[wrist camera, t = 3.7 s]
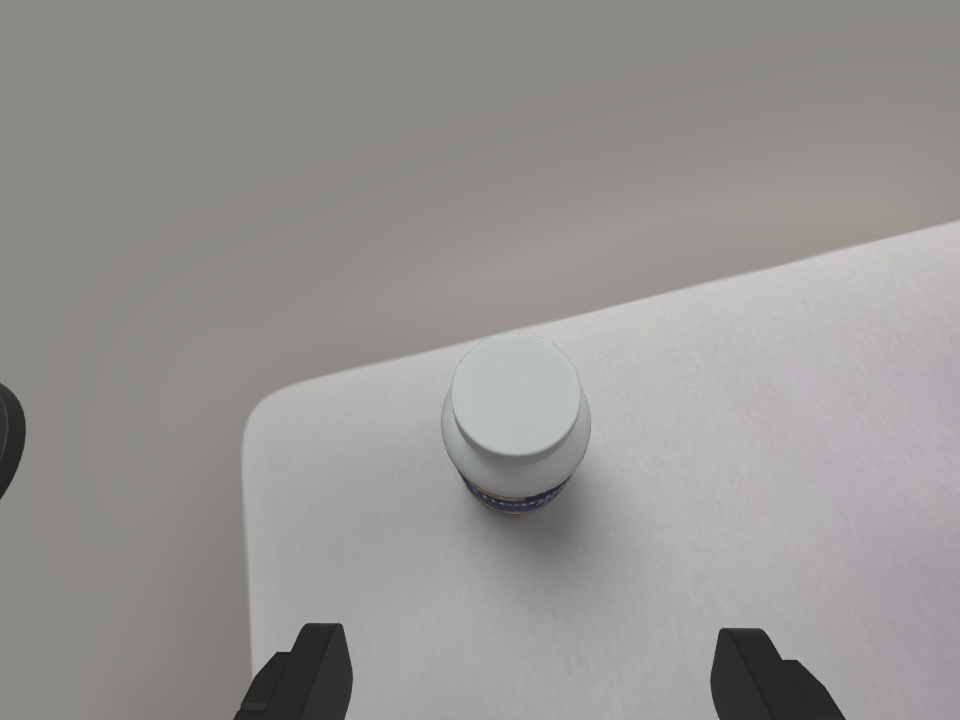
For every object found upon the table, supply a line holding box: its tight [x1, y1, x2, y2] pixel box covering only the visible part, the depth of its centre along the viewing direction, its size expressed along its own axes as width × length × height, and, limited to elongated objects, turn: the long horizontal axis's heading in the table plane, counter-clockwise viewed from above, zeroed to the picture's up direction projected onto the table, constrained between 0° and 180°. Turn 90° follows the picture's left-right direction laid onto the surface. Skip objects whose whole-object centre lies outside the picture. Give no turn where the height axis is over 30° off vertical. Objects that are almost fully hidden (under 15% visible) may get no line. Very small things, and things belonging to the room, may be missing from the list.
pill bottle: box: [441, 333, 591, 514], centre depth 18 cm, size 5×5×10 cm
